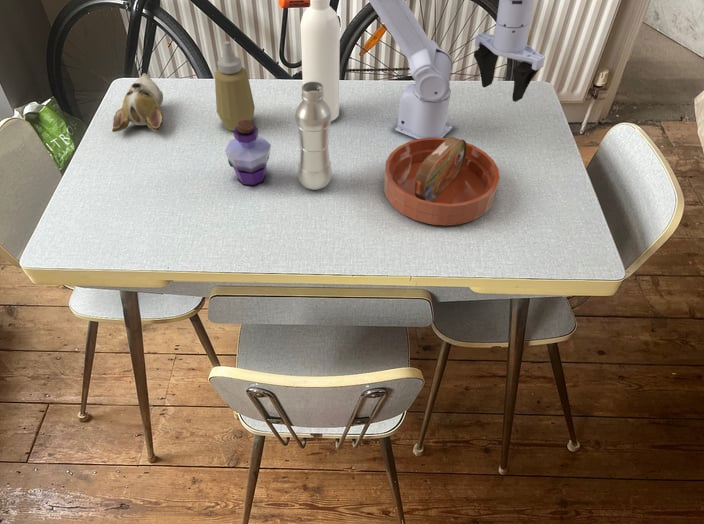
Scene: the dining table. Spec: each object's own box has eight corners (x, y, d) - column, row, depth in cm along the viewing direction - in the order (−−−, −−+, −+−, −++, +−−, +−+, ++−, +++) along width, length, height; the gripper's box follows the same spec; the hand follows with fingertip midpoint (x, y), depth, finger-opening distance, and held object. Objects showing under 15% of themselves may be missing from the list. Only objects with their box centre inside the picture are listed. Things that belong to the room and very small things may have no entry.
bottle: (327, 100, 130) (326, -45, 107) (346, 116, 125) (349, -32, 103) (296, 111, 127) (289, -36, 105) (315, 128, 123) (311, -22, 100)
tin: (423, 211, 103) (429, 173, 97) (408, 204, 105) (413, 166, 98) (464, 170, 111) (472, 132, 105) (449, 164, 112) (456, 127, 106)
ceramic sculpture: (167, 65, 123) (152, 106, 114) (176, 101, 130) (163, 142, 121) (118, 66, 124) (100, 107, 115) (129, 101, 131) (113, 142, 121)
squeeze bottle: (264, 120, 125) (255, 39, 111) (241, 139, 120) (230, 56, 107) (234, 110, 128) (223, 29, 114) (211, 128, 123) (196, 45, 110)
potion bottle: (227, 167, 114) (218, 113, 105) (270, 161, 115) (265, 107, 106) (232, 194, 108) (223, 140, 99) (277, 188, 109) (272, 133, 100)
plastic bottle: (336, 176, 111) (337, 80, 96) (325, 197, 107) (324, 100, 92) (305, 169, 113) (301, 74, 98) (293, 190, 109) (287, 94, 94)
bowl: (362, 198, 107) (363, 176, 103) (419, 147, 117) (422, 125, 114) (459, 243, 98) (464, 222, 95) (512, 184, 109) (518, 162, 105)
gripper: (562, 25, 99) (546, 98, 109) (497, 3, 107) (487, 72, 117) (534, 39, 96) (521, 112, 106) (470, 15, 104) (463, 84, 114)
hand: (501, 92), depth 111 cm, fingers open, 7 cm apart
